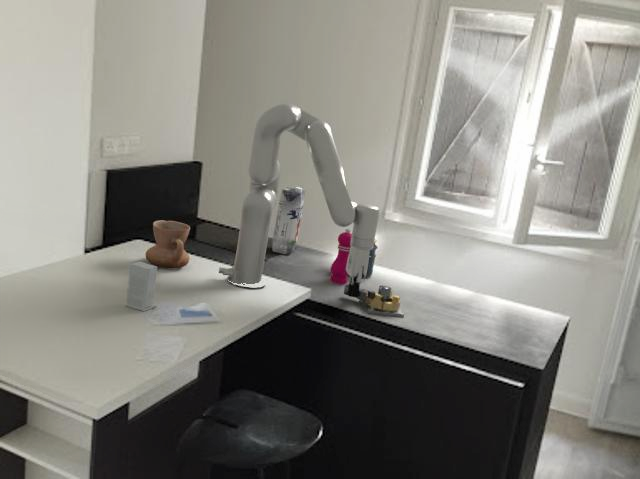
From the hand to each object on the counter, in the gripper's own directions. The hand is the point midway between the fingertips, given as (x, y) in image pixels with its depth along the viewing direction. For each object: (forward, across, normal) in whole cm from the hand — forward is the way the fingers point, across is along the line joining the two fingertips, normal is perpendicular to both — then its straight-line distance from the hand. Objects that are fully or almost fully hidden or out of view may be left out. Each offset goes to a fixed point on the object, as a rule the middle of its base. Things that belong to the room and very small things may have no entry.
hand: (352, 296), depth 228 cm
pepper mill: (+3, -24, 0) cm, 24 cm away
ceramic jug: (+2, -16, -61) cm, 63 cm away
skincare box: (+2, +28, -66) cm, 72 cm away
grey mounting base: (+2, +3, +10) cm, 10 cm away
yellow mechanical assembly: (+1, 0, +6) cm, 6 cm away
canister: (+3, -39, +10) cm, 40 cm away
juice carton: (+2, -59, -16) cm, 61 cm away
